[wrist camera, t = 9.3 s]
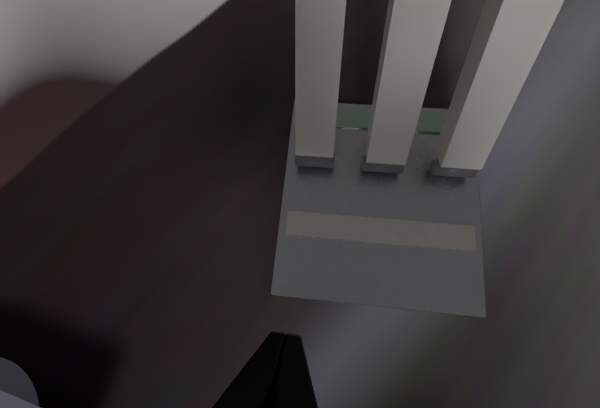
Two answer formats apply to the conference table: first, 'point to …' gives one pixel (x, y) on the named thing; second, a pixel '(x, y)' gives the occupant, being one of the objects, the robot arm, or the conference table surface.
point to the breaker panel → (381, 227)
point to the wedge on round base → (16, 387)
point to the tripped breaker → (317, 79)
